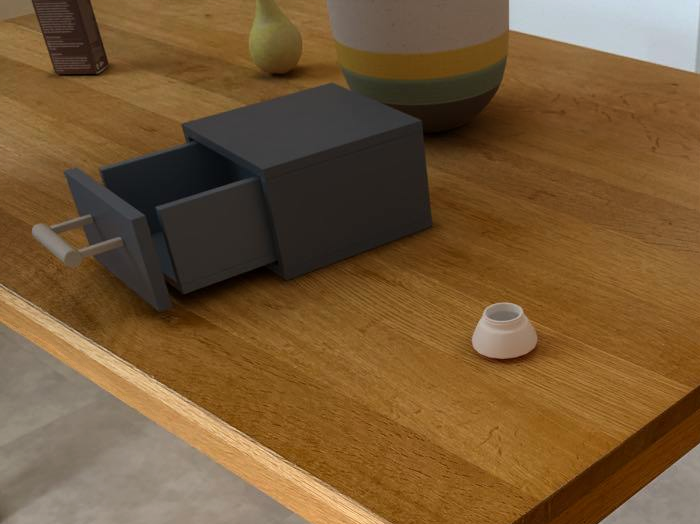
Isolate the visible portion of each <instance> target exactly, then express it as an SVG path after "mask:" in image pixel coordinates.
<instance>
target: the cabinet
mask: <svg viewBox="0 0 700 524" xmlns="http://www.w3.org/2000/svg"><path fill="white" fill-rule="evenodd" d="M180 126H181V129H182V133H183V136H184V140H185V143H188V142H192V141H195V140H196V141H198V142H199V143H201V144H203V145H205V146H206V147H208V148H210V149H212V150H213V151H215V152H217V153H219V154H220V155H222V156H224V157H226V158H227V159H229V160H231V161H233V162H234V163H236V164H238V165H240V166H241V167H243V168H245V169H247V170H249V171H250V172H252V173H254V174H256V175H257V176H259V177H260V179H261V184H262V189H263V193H264V198H265V203H266V207H267V212H268V217H269V221H270V226H271V231H272V235H273V240H274V245H275V249H276V254H277V259H278V261H275V262H272V263H270V264H267V265H264V266H263V267H265V268H267V269H268V270H269V271H271V272H273V273H274V274H276V275H277V276H279V277H280V278H282V279H283V280H284V281H289V280H292V279H295V278H298V277H301V276H303V275H306V274H308V273H311V272H314V271H317V270H320V269H322V268H324V267H325V268H326V267H327V266H330V265H333V264H335V263H339V262H341V261H343V260H345V259H348V258H351V257H354V256H356V255H359V254H362V253H365V252H368V251H370V250H374V249H376V248H378V247H381V246H383V245H386V244H389V243H392V242H394V241H397V240H400V239H402V238H405V237H408V236H411V235H413V234H416V233H418V232H421V231H423V230H427V229H429V228H432V227H433V218H432V208H431V198H430V189H429V187H430V186H429V178H428V168H427V158H426V150H425V149H426V148H425V139H424V133H423V131H422V130H423V128H422V120H420V119H417V118H415V117H413V116H410V115H408V114H405V113H403V112H401V111H398V110H396V109H394V108H391V107H389V106H387V105H384V104H382V103H379V102H377V101H375V100H372V99H370V98H368V97H365V96H363V95H360V94H358V93H356V92H353V91H351V89H350V88H346V87H344V86H342V85H339V84H337V83H334V82H328V83H326V84H321V85H317V86H314V87H310V88H306V89H303V90H300V91H295V92H292V93H289V94H285V95H281V96H278V97H274V98H271V99H267V100H263V101H259V102H255V103H251V104H248V105H244V106H240V107H238V108H237V107H236V108H234V109H229V110H225V111H222V112H219V113H215V114H211V115H208V116H204V117H200V118H196V119H192V120H189V121H185V122H182V123H180Z"/></svg>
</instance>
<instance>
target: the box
mask: <svg viewBox="0 0 700 524" xmlns="http://www.w3.org/2000/svg"><path fill="white" fill-rule="evenodd" d="M30 1H31V3H32V7H33V10H34V13H35V16H36V20H37V22H38V25H39V29H40V31H41V34H42V37H43V40H44V43H45V46H46V50H47V52H48V56H49V58H50V59H49V60H50V62H51V65H52V68H53V71H54V74H55V75H76V74H78V75H79V74H80V75H81V74H82V75H87V74H88V75H90V74H91V75H92V74H93V75H98V74H100V73H102V72H103V71H104V70H106V68H108V66H109V65H110V62H109V59H108V56H107V53H106V48H105V46H104V43H103V38H102V36H101V32H100V29H99V25H98V21H97V18H96V15H95V11H94V8H93V5H92V1H91V0H30Z"/></svg>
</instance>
